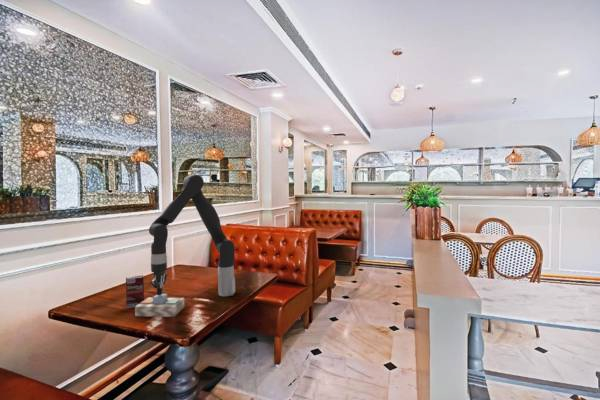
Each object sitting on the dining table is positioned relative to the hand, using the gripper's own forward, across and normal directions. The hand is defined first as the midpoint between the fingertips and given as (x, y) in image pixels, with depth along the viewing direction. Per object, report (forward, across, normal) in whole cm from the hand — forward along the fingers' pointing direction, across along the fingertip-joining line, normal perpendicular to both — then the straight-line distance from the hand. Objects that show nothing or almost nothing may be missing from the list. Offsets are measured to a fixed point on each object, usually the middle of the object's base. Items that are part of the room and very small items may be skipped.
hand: (159, 294), depth 156 cm
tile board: (+9, 0, 0) cm, 9 cm away
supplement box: (+9, +7, +18) cm, 21 cm away
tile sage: (+7, 0, -7) cm, 10 cm away
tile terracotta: (+7, 0, +6) cm, 10 cm away
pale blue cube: (+4, 0, 0) cm, 4 cm away
